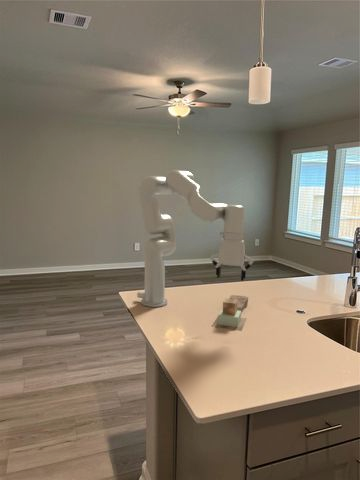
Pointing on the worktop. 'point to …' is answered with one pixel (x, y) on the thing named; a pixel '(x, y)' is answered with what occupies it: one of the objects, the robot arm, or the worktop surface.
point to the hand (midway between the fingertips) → (230, 278)
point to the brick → (240, 302)
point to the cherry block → (229, 307)
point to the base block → (229, 319)
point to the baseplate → (230, 326)
